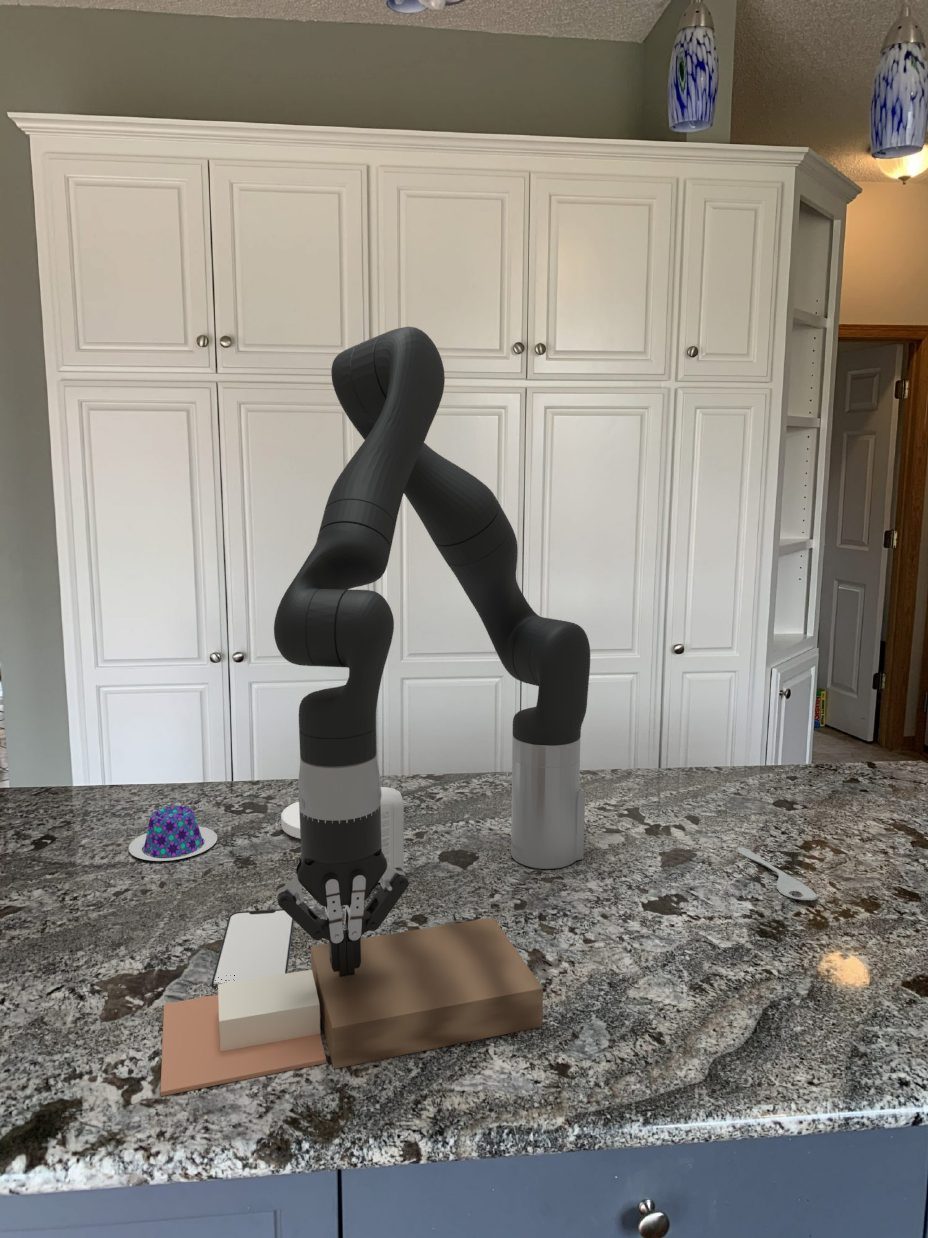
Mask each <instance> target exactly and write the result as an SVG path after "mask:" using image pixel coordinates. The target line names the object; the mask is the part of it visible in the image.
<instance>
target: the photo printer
mask: <svg viewBox="0 0 928 1238" xmlns="http://www.w3.org/2000/svg"><path fill="white" fill-rule="evenodd" d="M380 787H381V792H382V796H381V800H380V801H381V846H382V853H383V854H384V856H385V858H386V860H387V864H388V865H390V866H391V867H393V868H397V867H399V868H401V869H402V870H403V872H404V866H405V865H404V860H405V858H404V852H405V851H404V848H405V847H404V846H405V845H404V842H405V841H404V840H405V838H404V837H405V836H404V826H405V825H404V822H405V821H404V820H405V819H404V814H405V812H404V811H405V810H404V809H405V807H404V800H403V797H402V794H401V792H400V791H399V790H397V789H396V788H392V787H389V786H387V787H386V786H380ZM381 878H382V877H381ZM380 880H381V879H380ZM380 880H379V882H378V883H380ZM378 883H377V884H378Z"/></svg>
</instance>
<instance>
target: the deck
mask: <svg viewBox="0 0 928 1238" xmlns="http://www.w3.org/2000/svg"><path fill="white" fill-rule="evenodd" d="M310 966H311V967H310V970H312V973H313V977H314V982H315V986H316V991H317V995H318V1000H319V1004H320V1022H321V1025H322V1028H323V1031H324V1037H325V1040H326V1044H327V1048H328V1052H329V1057H330V1061H331V1064H332V1068H333V1070H336V1069H341V1068H346V1067H350V1066H357V1065H360V1064H365V1063H370V1062H376V1061H380V1060H386V1059H390V1058H395V1057H399V1056H404V1055H409V1054H415V1053H419V1052H424V1051H430V1050H434V1049H440V1048H444V1047H448V1046H449V1047H450V1046H453V1045H458V1044H459V1045H460V1044H464V1043H468V1042H473V1041H477V1040H484V1039H488V1038H493V1037H498V1036H502V1035H503V1036H504V1035H507V1034H513V1033H517V1032H522V1031H528V1030H533V1029H536V1028H537V1029H538V1028H543V1017H544V1016H543V1012H544V1011H543V1007H544V1005H543V1004H544V1002H543V1001H544V988H543V986H542V985H541V984H540V982H539V980H538V979H537V977H536V976H535V975H534V972H532V970H531V969H530V968H529V966H528V965H527V963H526V961H524V959H523V958H522V956H521V955H520V953H519V951H518V950H517V949H516V948H515V946H514V944H513V943H512V941H510V939H509V937H508V936H507V934H506V933H505V932H504V930H503V929H502V927H501V926H500V924H499V923H498V921H497V920H496V919H495V918H494V917H489V918H488V917H487V918H481V919H475V920H468V921H462V922H456V923H451V924H450V923H449V924H443V925H438V926H431V927H423V928H418V929H412V930H407V931H406V930H405V931H399V932H395V933H393V932H392V933H388V934H381V935H375V936H368V937H361V964H360V967H359V968H355V975H349V976H343V977H339V974H338V972H334V971H333V969H332V967H331V963H330V958H329V943H325V944H319V945H313V946H310Z"/></svg>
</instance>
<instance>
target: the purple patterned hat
mask: <svg viewBox="0 0 928 1238" xmlns="http://www.w3.org/2000/svg"><path fill="white" fill-rule="evenodd" d="M217 842H218V835H217V833H216V832H215V831H214V830H213V829H210V828H207V827H205V826H200V825H199V824H198V821H197V818H196V815H195V813H194V812H193V810H192V809H191V808H190V807H189V806H183V805H173V806H166V807H162V808H160V809H157V810H155V811H154V812H153V813H152V814H151V816H150V819H149V821H148V826H147V831H146V833H143V834H142V835H139V836H138V837H136V838H135V839H133V840H132V841H131V842H130V844H129V846H128V852H129V853H130V855H132V856H133V857H136V858H138V859H141V860H145V861H153V862H154V861H155V862H163V861H165V862H166V861H176V860H181V859H186V858H189V857H193V856H196V855H198V854H202V853H204V852H206V851H207V850H210V849H211V848H212V847H213V846H214V845H215V844H216V843H217ZM198 848H199V849H198ZM147 854H150V856H149V855H147ZM161 857H162V858H161ZM163 857H165V858H163Z"/></svg>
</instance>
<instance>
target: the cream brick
mask: <svg viewBox="0 0 928 1238" xmlns="http://www.w3.org/2000/svg"><path fill="white" fill-rule="evenodd" d="M217 987H218V990H217V992H218V993H217V995H218V1002H219V1030H220V1051H226V1050H232V1049H237V1048H243V1047H249V1046H254V1045H260V1044H265V1043H271V1042H277V1041H282V1040H288V1039H293V1038H299V1037H305V1036H310V1035H316V1034H320V1035H321V1017H320V1004H319V1000H318V995H317V991H316V986H315V982H314V977H313V973H312V970H311V969H308V970H299V971H295V972H287V974H280V975H274V976H268V977H261V978H255V979H249V980H242V981H236V982H230V983H217Z"/></svg>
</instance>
